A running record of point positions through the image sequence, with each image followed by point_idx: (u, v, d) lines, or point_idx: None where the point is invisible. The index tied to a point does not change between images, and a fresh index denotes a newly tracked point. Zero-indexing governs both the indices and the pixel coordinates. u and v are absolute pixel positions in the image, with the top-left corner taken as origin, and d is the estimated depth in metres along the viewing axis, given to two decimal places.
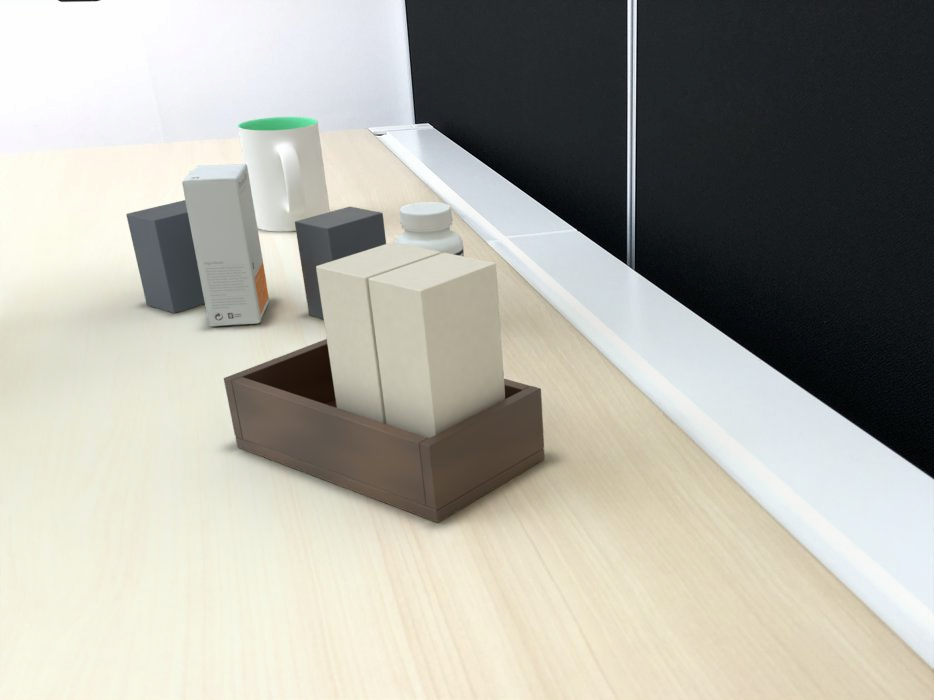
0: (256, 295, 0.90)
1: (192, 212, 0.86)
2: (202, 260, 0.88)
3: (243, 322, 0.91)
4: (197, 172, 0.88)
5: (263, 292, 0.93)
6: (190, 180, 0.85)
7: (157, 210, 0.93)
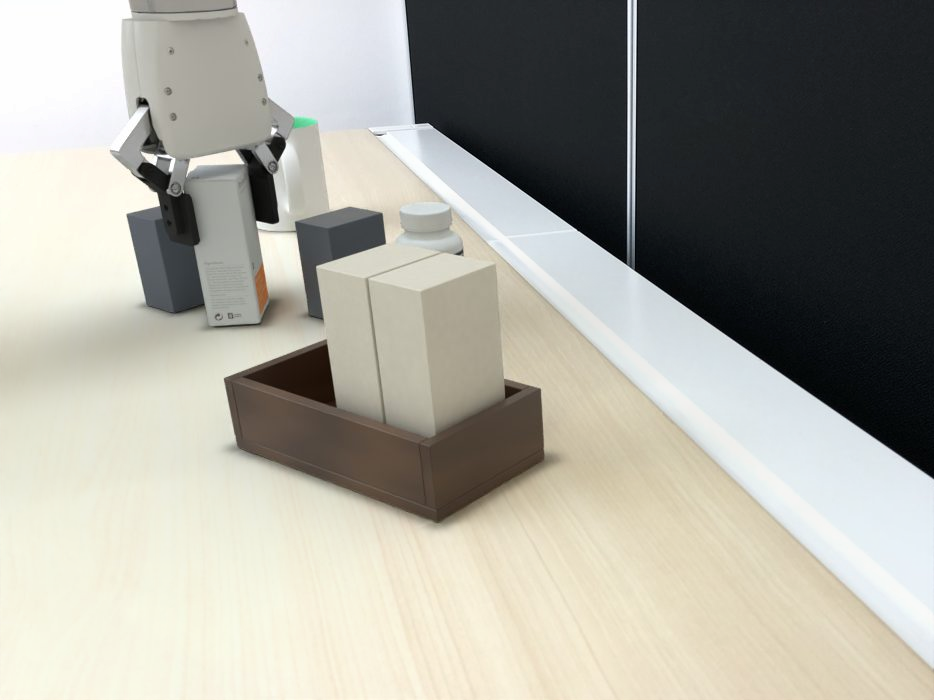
0: (256, 295, 0.90)
1: None
2: (202, 260, 0.88)
3: (243, 322, 0.91)
4: (197, 172, 0.88)
5: (263, 292, 0.93)
6: (190, 180, 0.85)
7: (157, 210, 0.93)
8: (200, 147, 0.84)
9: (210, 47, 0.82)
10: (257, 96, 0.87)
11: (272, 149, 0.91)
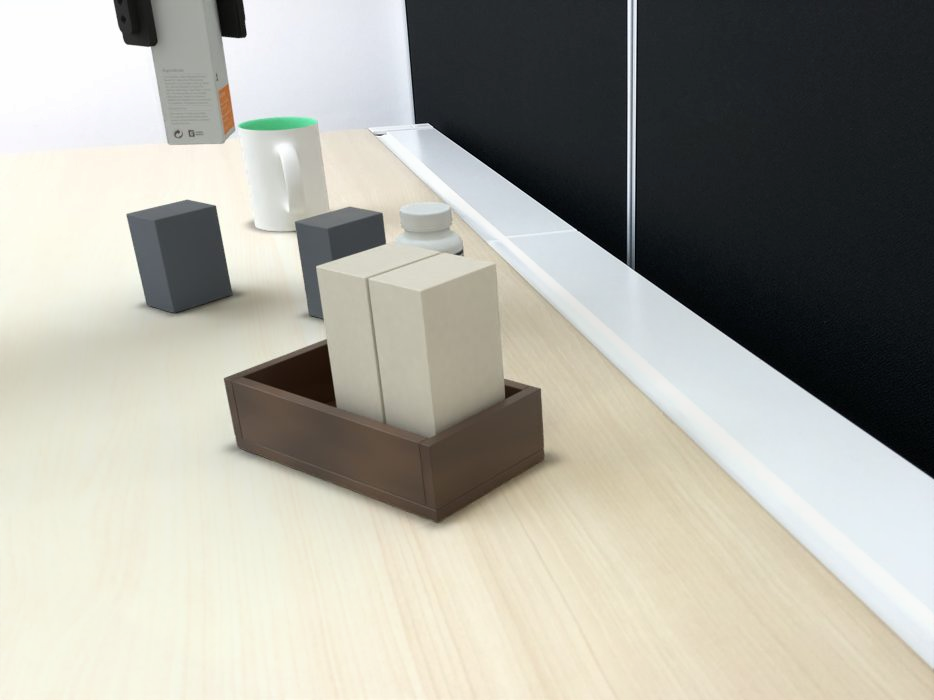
0: (220, 111, 0.82)
1: None
2: (160, 66, 0.80)
3: (205, 142, 0.83)
4: None
5: (228, 115, 0.85)
6: None
7: (157, 210, 0.93)
8: None
9: None
10: None
11: None
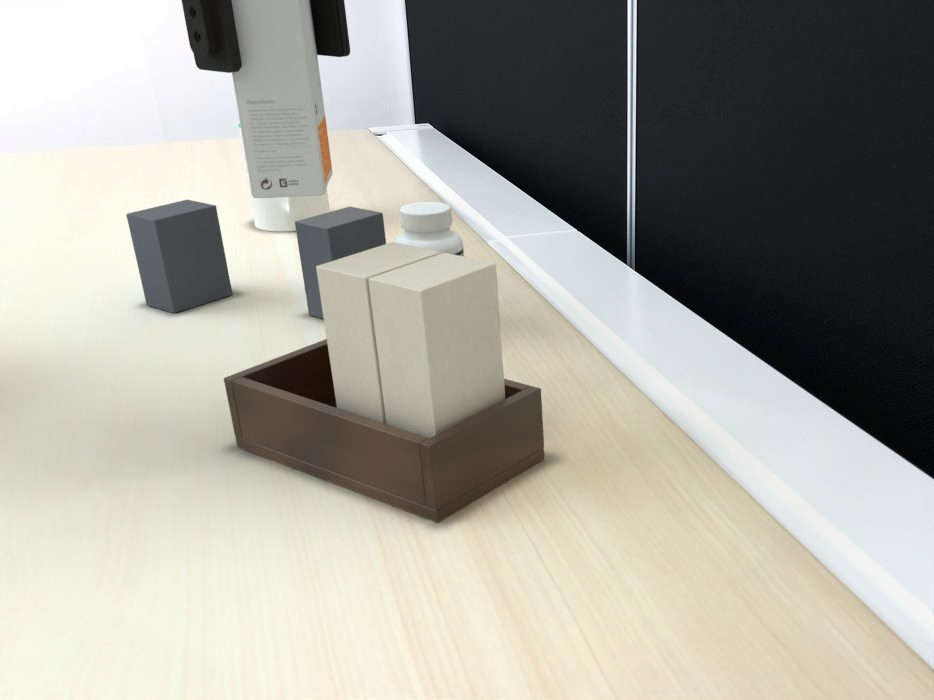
0: (320, 153, 0.63)
1: None
2: (244, 97, 0.61)
3: (301, 193, 0.63)
4: None
5: (326, 155, 0.66)
6: None
7: (157, 210, 0.93)
8: None
9: None
10: None
11: None
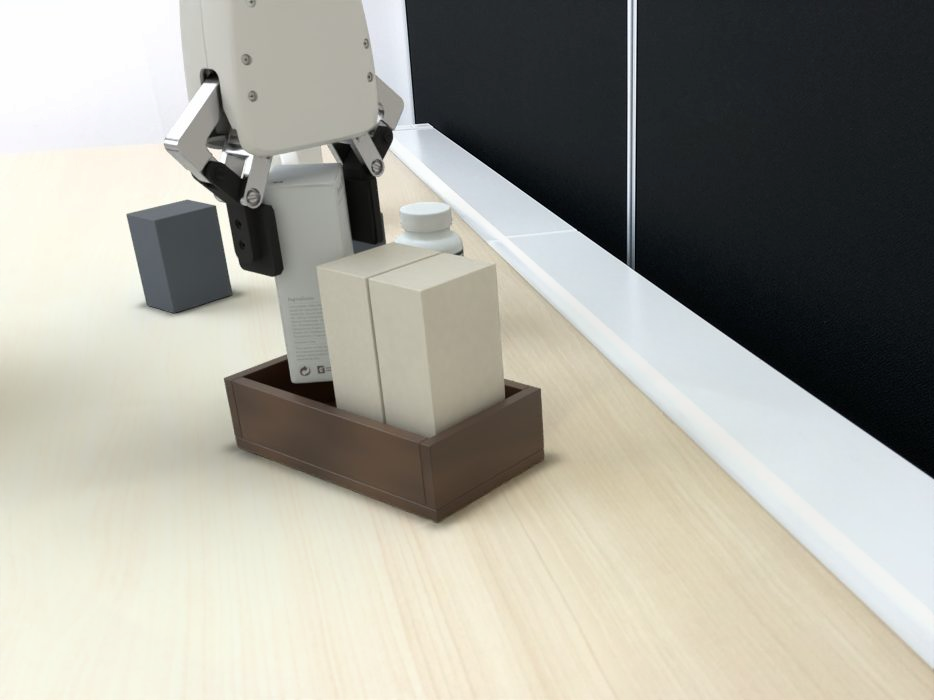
0: None
1: None
2: (285, 295, 0.64)
3: None
4: (278, 174, 0.64)
5: None
6: (271, 186, 0.61)
7: (157, 210, 0.93)
8: (287, 139, 0.60)
9: None
10: (362, 69, 0.63)
11: (376, 143, 0.67)
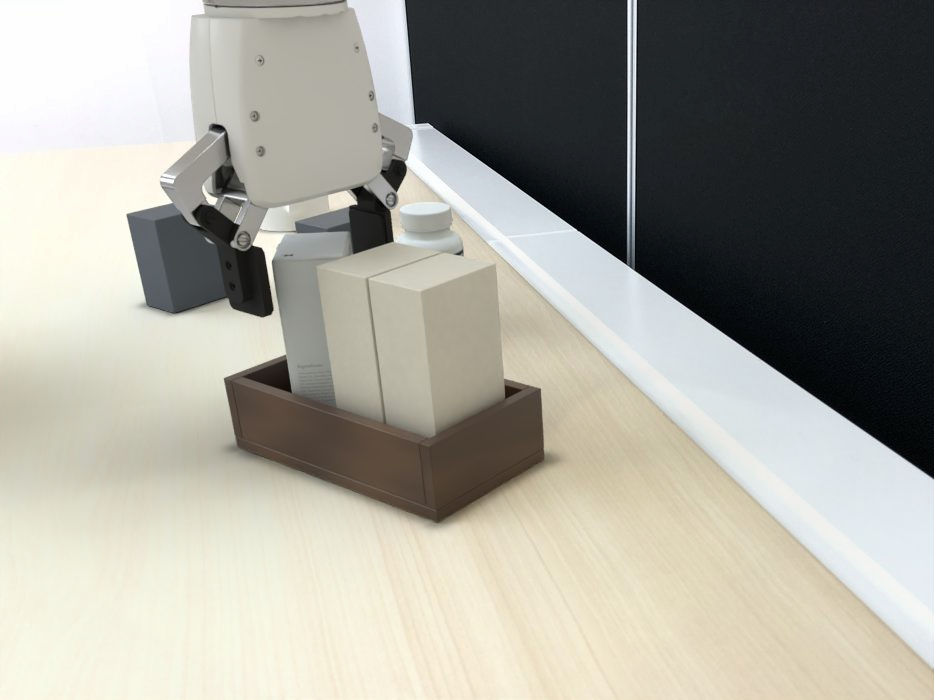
0: None
1: (284, 301, 0.64)
2: (295, 363, 0.66)
3: None
4: (288, 246, 0.66)
5: None
6: (282, 259, 0.63)
7: (157, 210, 0.93)
8: (294, 191, 0.61)
9: (311, 55, 0.59)
10: (367, 121, 0.64)
11: (391, 179, 0.69)
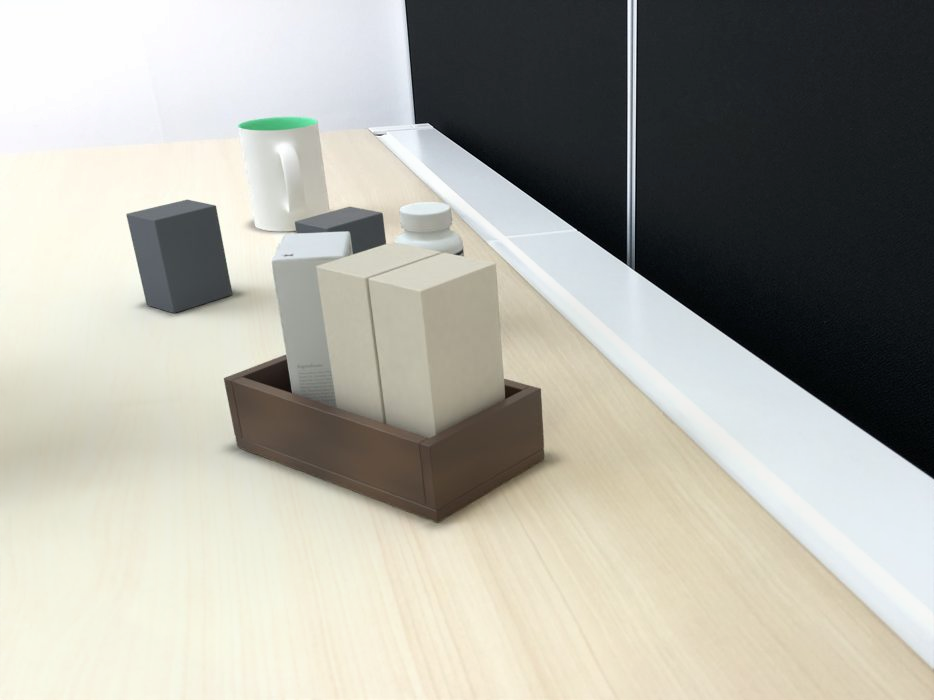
0: None
1: (284, 301, 0.64)
2: (295, 363, 0.66)
3: None
4: (288, 246, 0.66)
5: None
6: (282, 259, 0.63)
7: (157, 210, 0.93)
8: None
9: None
10: None
11: None
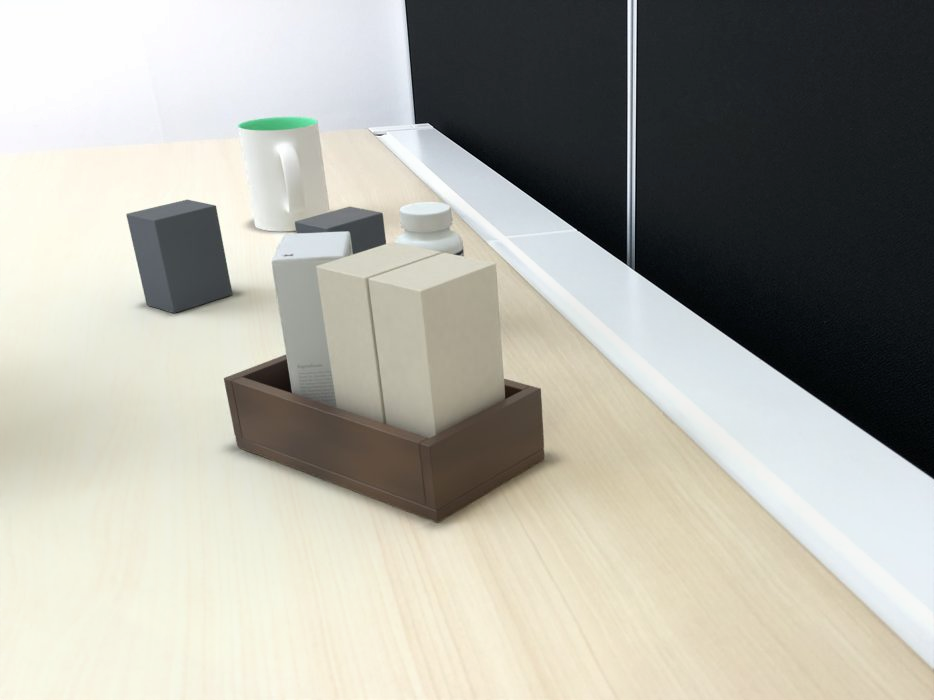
0: None
1: (284, 301, 0.64)
2: (295, 363, 0.66)
3: None
4: (288, 246, 0.66)
5: None
6: (282, 259, 0.63)
7: (157, 210, 0.93)
8: None
9: None
10: None
11: None
